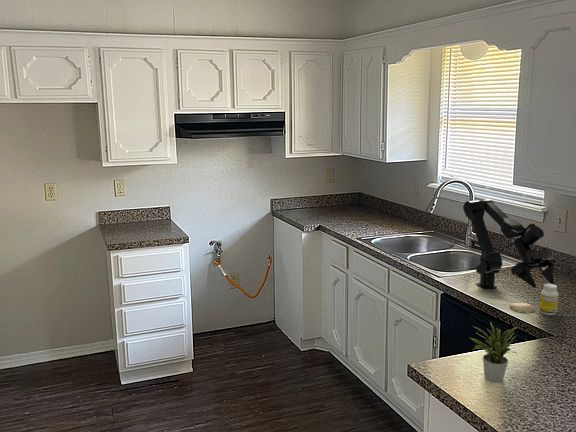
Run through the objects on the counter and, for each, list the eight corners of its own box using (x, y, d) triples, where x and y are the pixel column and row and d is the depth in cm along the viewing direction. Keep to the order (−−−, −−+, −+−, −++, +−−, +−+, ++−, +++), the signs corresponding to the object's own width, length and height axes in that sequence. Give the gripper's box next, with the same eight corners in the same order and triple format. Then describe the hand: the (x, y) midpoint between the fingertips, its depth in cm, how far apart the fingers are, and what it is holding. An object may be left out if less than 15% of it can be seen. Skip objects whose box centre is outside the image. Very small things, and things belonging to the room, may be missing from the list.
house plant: (491, 361, 184) (495, 312, 181) (530, 379, 173) (535, 327, 169) (460, 373, 176) (464, 322, 173) (498, 392, 165) (503, 338, 162)
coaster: (505, 305, 233) (505, 303, 233) (525, 303, 235) (525, 301, 235) (518, 313, 224) (518, 311, 224) (539, 311, 226) (539, 309, 226)
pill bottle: (541, 308, 230) (544, 281, 227) (558, 312, 226) (561, 285, 224) (536, 313, 225) (539, 285, 223) (553, 317, 221) (556, 289, 219)
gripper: (519, 242, 224) (538, 278, 216) (555, 238, 231) (575, 273, 223) (502, 257, 232) (521, 292, 225) (538, 252, 240) (557, 286, 232)
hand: (544, 285), depth 226 cm, fingers open, 9 cm apart
